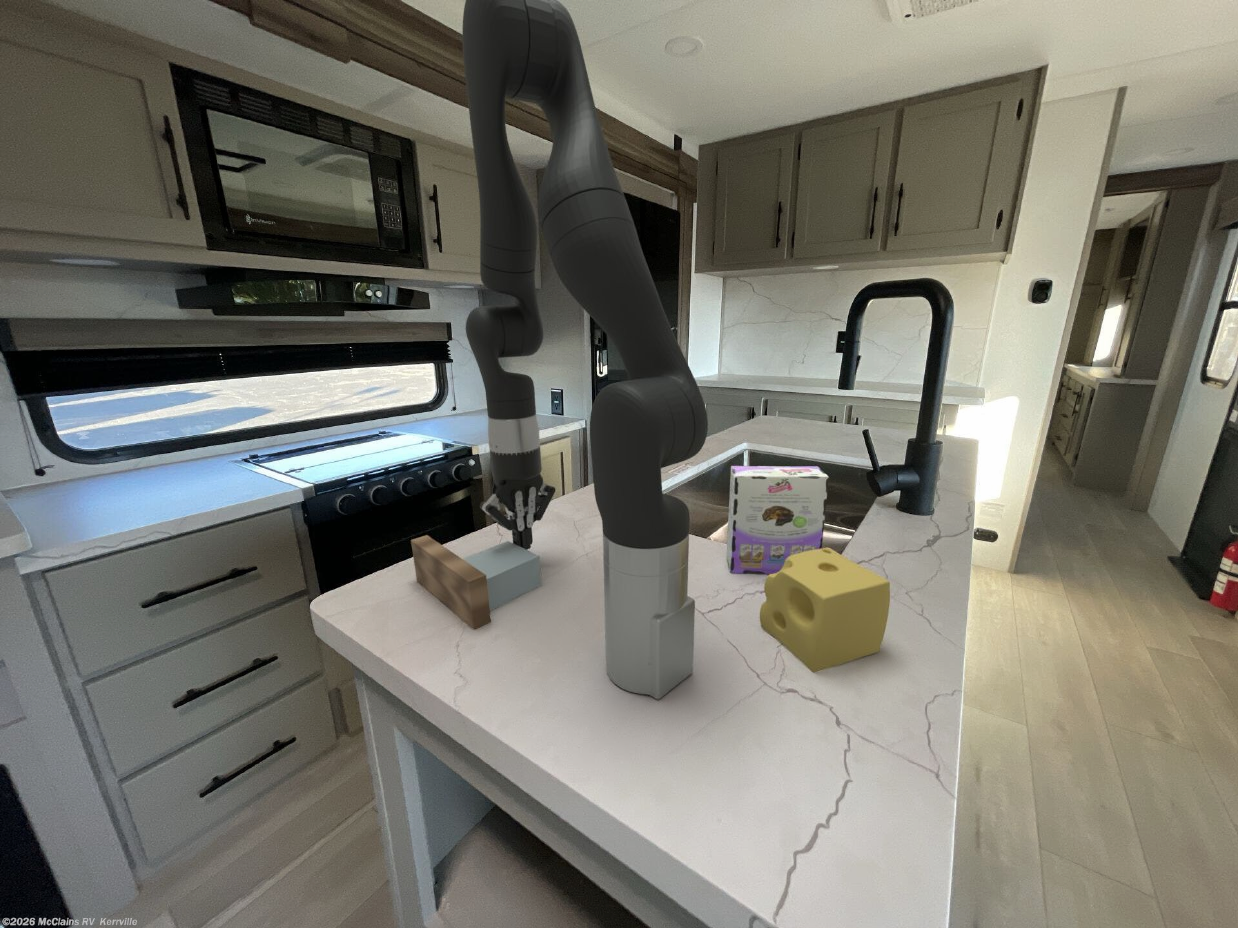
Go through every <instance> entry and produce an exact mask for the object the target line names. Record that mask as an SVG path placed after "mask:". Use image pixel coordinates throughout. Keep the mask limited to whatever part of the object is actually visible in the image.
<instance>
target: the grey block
mask: <svg viewBox="0 0 1238 928" xmlns="http://www.w3.org/2000/svg"><path fill="white" fill-rule="evenodd" d="M462 559H463V560H465V561H466V562H468V563H469V564H471V565H472V566H473V567H475V568H476V569H478V570H479V571H481V572H482V573H484V574H485V575H486V578H487V588H488V598H489V608H490V612H491V611H493V610H495V609H497V608H499V607H501V606H503V605H505V604H507V603H509V602H511V601H514V600H515V599H517V598H519V597H521V596H523V595H525V594H526V593H529V592H531V591H533V590H535V589H537V588H539V587H541V586H542V574H541V560H540V559H541V557H540V555H539V554H536V553H534V552H532V551H529V549H527V550H526V549H524V548H522V547H520V546H518V545H515V544H513V542H511V541H510V540H509V541H508V540H507V541H505V542H502V543H499V544H497V545H494V546H492V547H489V548H487V549H484V550H482V551H479V552H476V553H474V554H472V555H469V556H466V557H463V558H462Z"/></svg>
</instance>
